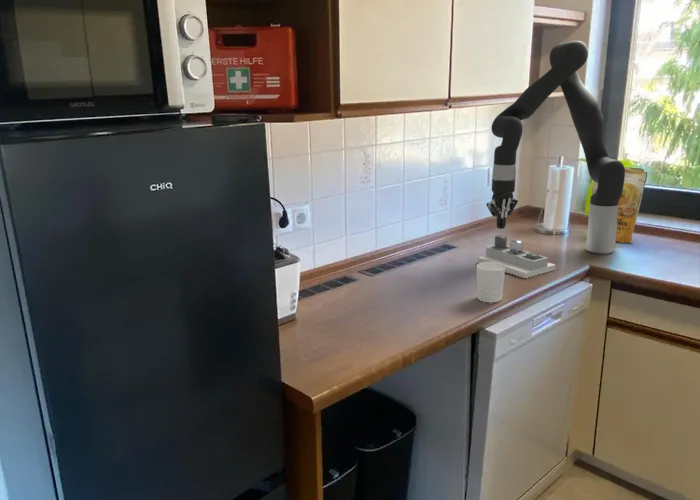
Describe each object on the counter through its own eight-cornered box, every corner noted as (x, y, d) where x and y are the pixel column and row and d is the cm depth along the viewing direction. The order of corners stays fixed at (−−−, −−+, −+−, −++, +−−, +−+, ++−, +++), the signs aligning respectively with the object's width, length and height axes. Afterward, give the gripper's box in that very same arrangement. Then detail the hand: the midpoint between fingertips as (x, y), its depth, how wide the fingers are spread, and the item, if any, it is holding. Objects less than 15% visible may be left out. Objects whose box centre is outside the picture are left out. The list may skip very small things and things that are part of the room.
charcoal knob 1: (500, 244, 200) (500, 234, 199) (509, 246, 197) (509, 236, 196) (492, 246, 198) (492, 236, 197) (500, 248, 195) (501, 238, 194)
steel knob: (515, 248, 194) (516, 238, 193) (524, 251, 191) (525, 241, 190) (507, 250, 192) (507, 240, 191) (516, 253, 189) (517, 243, 188)
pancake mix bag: (590, 233, 231) (597, 163, 224) (640, 241, 218) (648, 167, 210) (583, 236, 227) (589, 165, 219) (633, 245, 214) (641, 170, 206)
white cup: (498, 306, 160) (500, 272, 157) (471, 301, 164) (472, 268, 161) (507, 297, 166) (508, 264, 164) (480, 292, 170) (482, 260, 168)
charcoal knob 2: (531, 262, 189) (532, 252, 188) (541, 265, 186) (541, 255, 185) (523, 264, 187) (523, 254, 186) (532, 267, 184) (533, 257, 183)
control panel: (506, 255, 205) (507, 242, 204) (555, 270, 188) (556, 255, 187) (477, 262, 198) (478, 248, 197) (525, 278, 181) (526, 263, 180)
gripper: (509, 174, 197) (506, 223, 202) (481, 178, 191) (478, 228, 195) (526, 177, 191) (522, 227, 196) (497, 181, 184) (494, 233, 189)
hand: (500, 228), depth 196 cm, fingers closed
